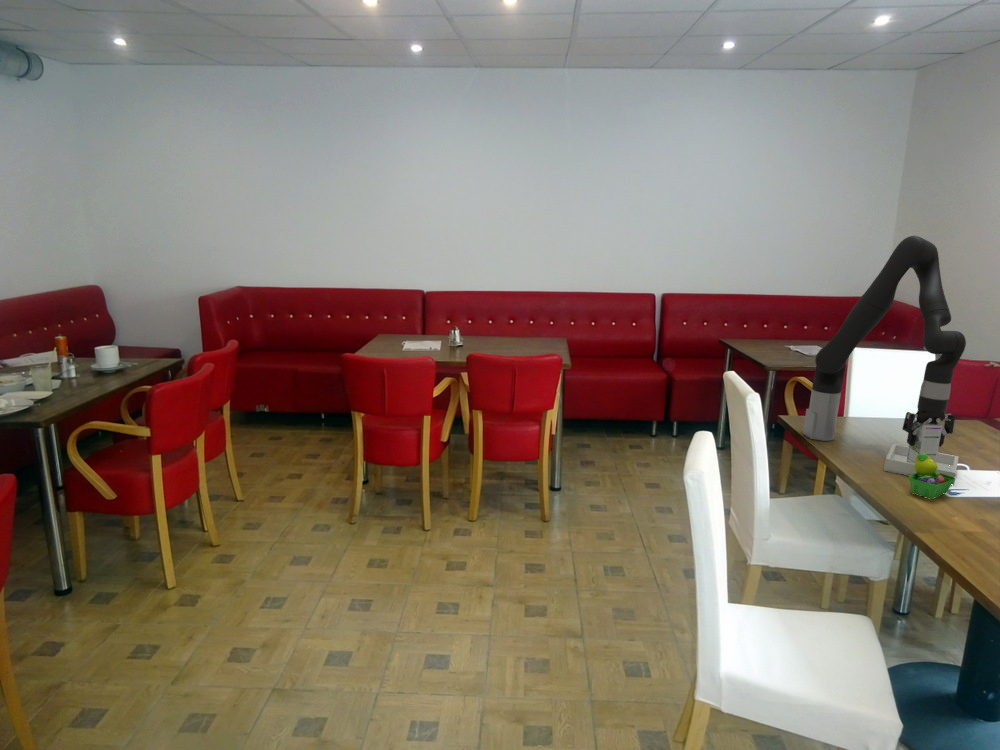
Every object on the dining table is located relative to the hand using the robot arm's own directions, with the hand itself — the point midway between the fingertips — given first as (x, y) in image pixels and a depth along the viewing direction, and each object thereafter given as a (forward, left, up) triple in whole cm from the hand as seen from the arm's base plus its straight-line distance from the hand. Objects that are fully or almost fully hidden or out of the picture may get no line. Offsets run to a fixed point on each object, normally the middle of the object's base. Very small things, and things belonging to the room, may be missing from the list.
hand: (924, 445), depth 202 cm
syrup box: (0, 0, -7) cm, 7 cm away
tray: (0, 0, -8) cm, 8 cm away
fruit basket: (-10, -18, -8) cm, 22 cm away
